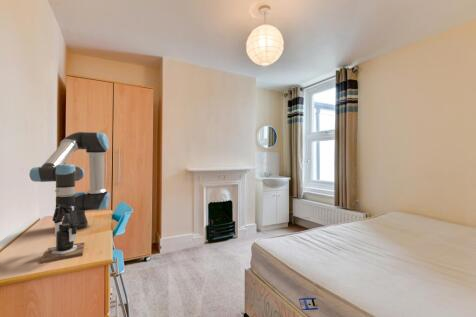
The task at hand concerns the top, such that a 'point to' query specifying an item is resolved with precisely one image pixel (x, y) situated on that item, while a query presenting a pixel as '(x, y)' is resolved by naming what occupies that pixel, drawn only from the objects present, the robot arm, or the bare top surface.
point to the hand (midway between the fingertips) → (65, 238)
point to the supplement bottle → (63, 238)
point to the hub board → (63, 253)
